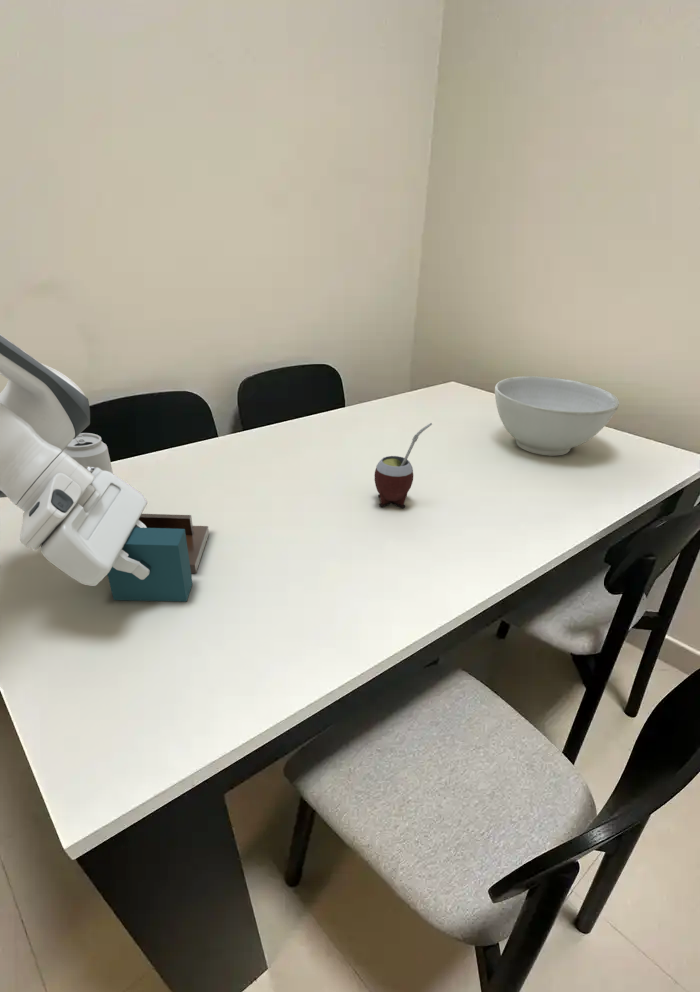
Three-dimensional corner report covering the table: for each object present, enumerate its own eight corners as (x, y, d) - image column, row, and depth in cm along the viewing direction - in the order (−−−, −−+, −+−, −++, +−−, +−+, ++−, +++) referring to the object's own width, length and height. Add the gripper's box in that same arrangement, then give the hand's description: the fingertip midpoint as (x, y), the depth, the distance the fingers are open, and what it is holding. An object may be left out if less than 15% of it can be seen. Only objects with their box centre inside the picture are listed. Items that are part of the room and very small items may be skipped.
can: (81, 519, 98) (63, 450, 91) (68, 502, 102) (50, 435, 95) (125, 508, 101) (111, 441, 94) (111, 492, 106) (96, 427, 99)
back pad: (113, 600, 80) (99, 543, 75) (122, 582, 84) (109, 526, 78) (186, 601, 81) (178, 545, 75) (192, 583, 84) (184, 528, 79)
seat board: (86, 570, 86) (79, 544, 83) (110, 531, 95) (104, 506, 92) (196, 573, 86) (192, 547, 84) (209, 534, 96) (206, 509, 93)
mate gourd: (364, 501, 108) (370, 420, 99) (392, 489, 113) (400, 411, 104) (394, 515, 104) (403, 432, 95) (422, 502, 109) (433, 423, 100)
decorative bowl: (477, 423, 147) (487, 372, 139) (583, 429, 147) (598, 379, 139) (494, 464, 125) (506, 407, 118) (618, 472, 125) (638, 416, 118)
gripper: (76, 476, 82) (156, 538, 89) (14, 550, 66) (118, 619, 73) (101, 446, 80) (182, 513, 86) (43, 515, 64) (148, 591, 70)
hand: (153, 562), depth 79 cm, fingers closed on back pad, 4 cm apart
